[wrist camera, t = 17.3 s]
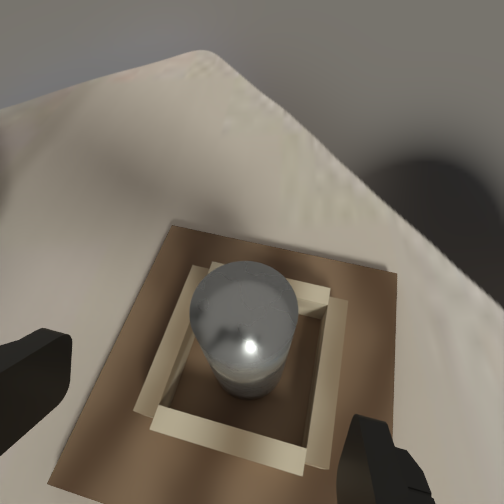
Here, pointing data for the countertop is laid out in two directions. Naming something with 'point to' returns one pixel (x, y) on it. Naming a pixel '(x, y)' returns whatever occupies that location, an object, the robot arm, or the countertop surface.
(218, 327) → the steel cylinder
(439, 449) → the countertop surface
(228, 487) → the socket board
